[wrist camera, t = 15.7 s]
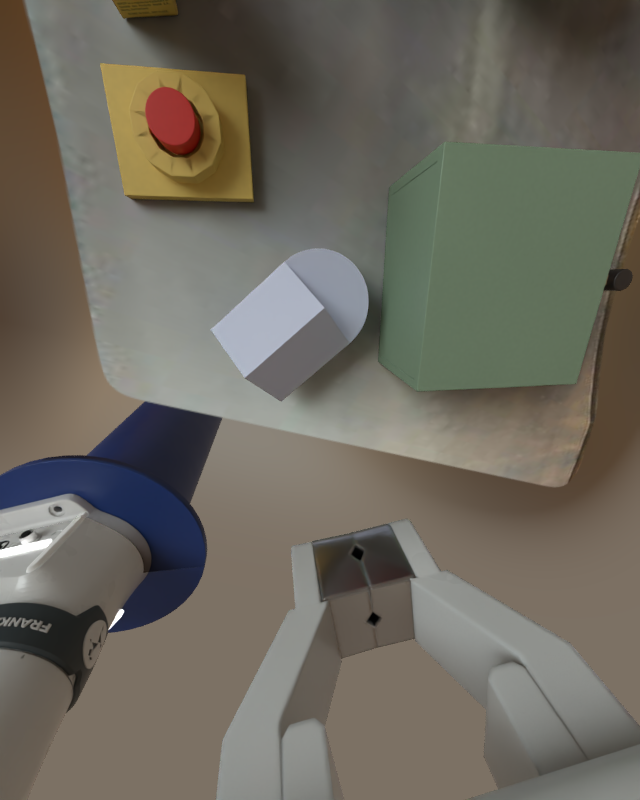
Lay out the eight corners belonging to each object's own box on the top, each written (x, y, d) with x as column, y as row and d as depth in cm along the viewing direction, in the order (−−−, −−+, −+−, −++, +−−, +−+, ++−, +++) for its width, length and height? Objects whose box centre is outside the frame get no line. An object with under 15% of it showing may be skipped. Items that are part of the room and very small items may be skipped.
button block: (130, 199, 26) (113, 189, 23) (108, 73, 23) (85, 44, 21) (254, 202, 27) (251, 193, 25) (246, 83, 25) (242, 58, 22)
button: (158, 154, 23) (149, 144, 22) (150, 98, 22) (140, 84, 21) (203, 156, 24) (198, 146, 22) (197, 102, 23) (191, 88, 21)
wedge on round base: (280, 390, 34) (376, 308, 32) (282, 415, 27) (401, 314, 26) (217, 324, 30) (320, 229, 29) (202, 335, 24) (332, 215, 23)
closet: (377, 361, 34) (416, 391, 25) (388, 187, 28) (444, 141, 19) (497, 357, 36) (576, 384, 26) (530, 192, 30) (644, 152, 21)
